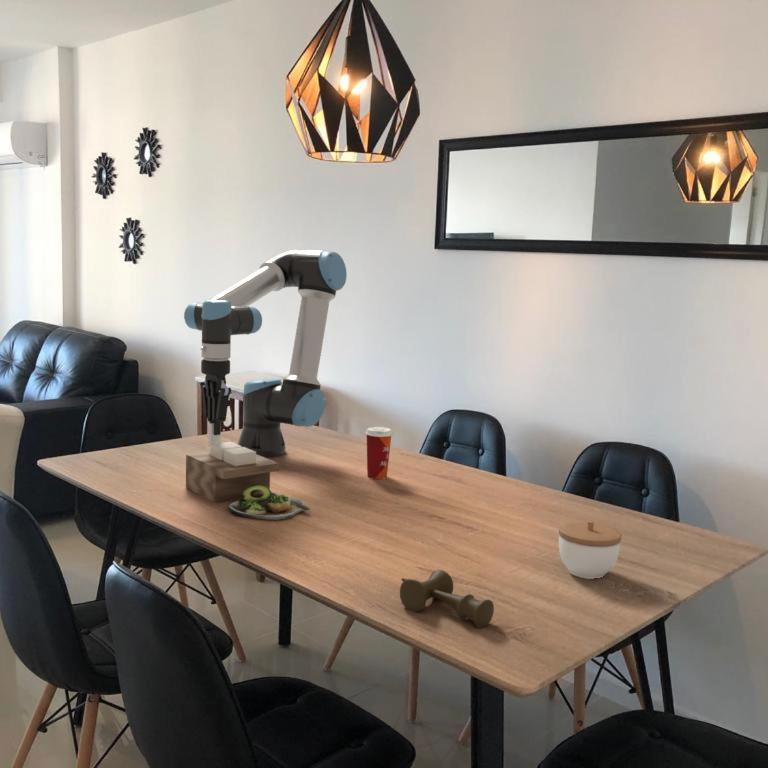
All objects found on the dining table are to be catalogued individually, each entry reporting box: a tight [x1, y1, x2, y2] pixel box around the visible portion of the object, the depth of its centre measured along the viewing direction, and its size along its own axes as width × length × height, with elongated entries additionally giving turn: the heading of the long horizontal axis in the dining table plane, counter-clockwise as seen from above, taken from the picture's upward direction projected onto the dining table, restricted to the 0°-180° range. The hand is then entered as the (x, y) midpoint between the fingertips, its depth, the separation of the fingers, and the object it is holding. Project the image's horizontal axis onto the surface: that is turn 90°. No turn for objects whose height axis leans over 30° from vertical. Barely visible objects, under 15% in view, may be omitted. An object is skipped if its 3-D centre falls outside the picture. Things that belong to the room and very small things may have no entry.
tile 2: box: [224, 447, 256, 466], centre depth 216 cm, size 6×6×3 cm
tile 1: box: [209, 441, 242, 460], centre depth 222 cm, size 6×6×3 cm
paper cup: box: [365, 426, 393, 480], centre depth 241 cm, size 8×8×14 cm
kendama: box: [399, 569, 495, 629], centre depth 153 cm, size 6×10×20 cm
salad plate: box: [227, 485, 311, 521], centre depth 207 cm, size 19×18×5 cm
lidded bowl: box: [558, 520, 623, 580], centre depth 174 cm, size 13×13×11 cm
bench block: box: [185, 450, 280, 503], centre depth 220 cm, size 20×16×9 cm
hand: (214, 446), depth 226 cm, fingers closed
